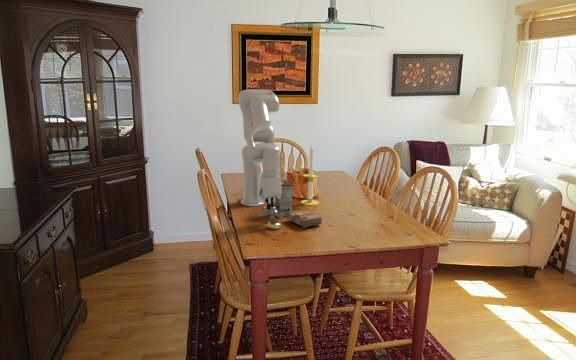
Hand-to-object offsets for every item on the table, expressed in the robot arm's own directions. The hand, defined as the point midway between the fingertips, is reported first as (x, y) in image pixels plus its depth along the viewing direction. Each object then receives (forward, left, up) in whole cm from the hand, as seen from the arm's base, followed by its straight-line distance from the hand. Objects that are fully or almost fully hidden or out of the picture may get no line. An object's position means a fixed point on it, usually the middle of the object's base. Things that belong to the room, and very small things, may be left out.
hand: (270, 211), depth 215 cm
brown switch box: (+8, +13, -6) cm, 17 cm away
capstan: (+5, -2, -6) cm, 8 cm away
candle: (-19, +36, -6) cm, 41 cm away
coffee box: (-10, +13, -6) cm, 17 cm away
